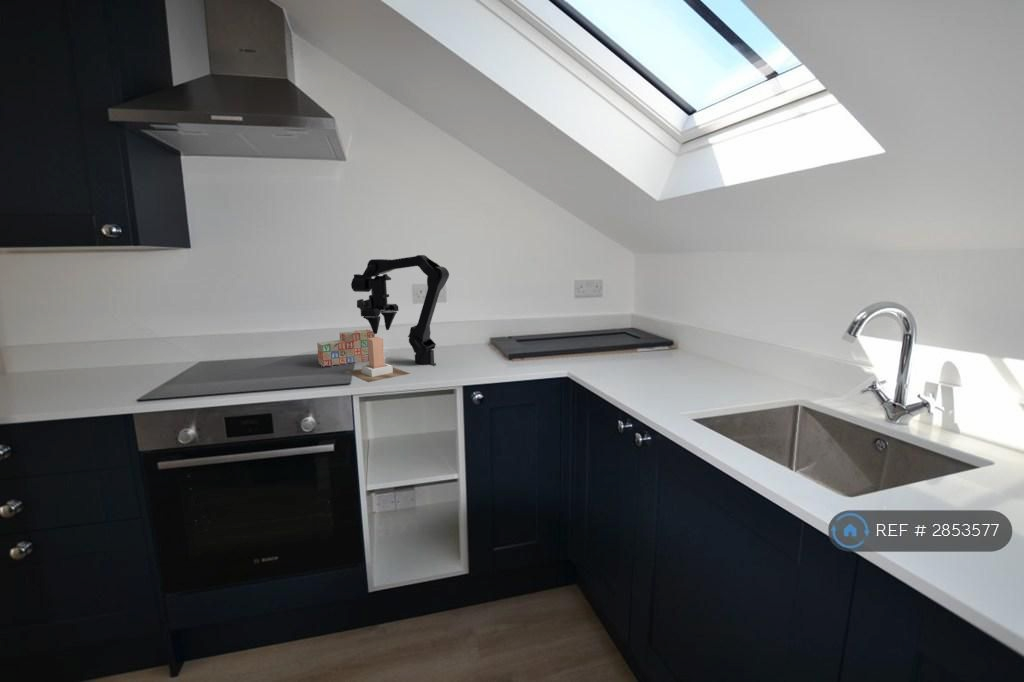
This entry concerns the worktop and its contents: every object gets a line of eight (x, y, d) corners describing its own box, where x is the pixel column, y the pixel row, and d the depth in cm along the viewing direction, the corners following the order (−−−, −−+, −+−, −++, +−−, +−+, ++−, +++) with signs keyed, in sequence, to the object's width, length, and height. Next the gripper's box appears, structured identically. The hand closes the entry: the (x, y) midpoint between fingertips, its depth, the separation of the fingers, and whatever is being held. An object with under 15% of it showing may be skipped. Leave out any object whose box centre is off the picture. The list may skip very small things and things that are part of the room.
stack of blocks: (323, 368, 183) (320, 337, 181) (318, 365, 188) (315, 334, 186) (376, 360, 196) (374, 330, 194) (370, 357, 201) (368, 328, 199)
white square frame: (382, 368, 176) (381, 362, 175) (392, 372, 170) (392, 365, 169) (361, 372, 170) (361, 365, 170) (372, 376, 165) (371, 369, 164)
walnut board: (385, 367, 183) (385, 364, 182) (410, 376, 169) (410, 373, 169) (345, 375, 172) (344, 371, 172) (368, 385, 158) (368, 382, 158)
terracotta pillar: (379, 370, 173) (377, 337, 171) (385, 372, 170) (382, 338, 168) (369, 372, 170) (367, 338, 168) (374, 374, 167) (372, 340, 165)
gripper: (373, 289, 194) (375, 327, 197) (346, 294, 176) (349, 335, 179) (398, 290, 191) (400, 328, 194) (373, 294, 173) (376, 336, 176)
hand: (381, 331), depth 186 cm, fingers open, 9 cm apart
